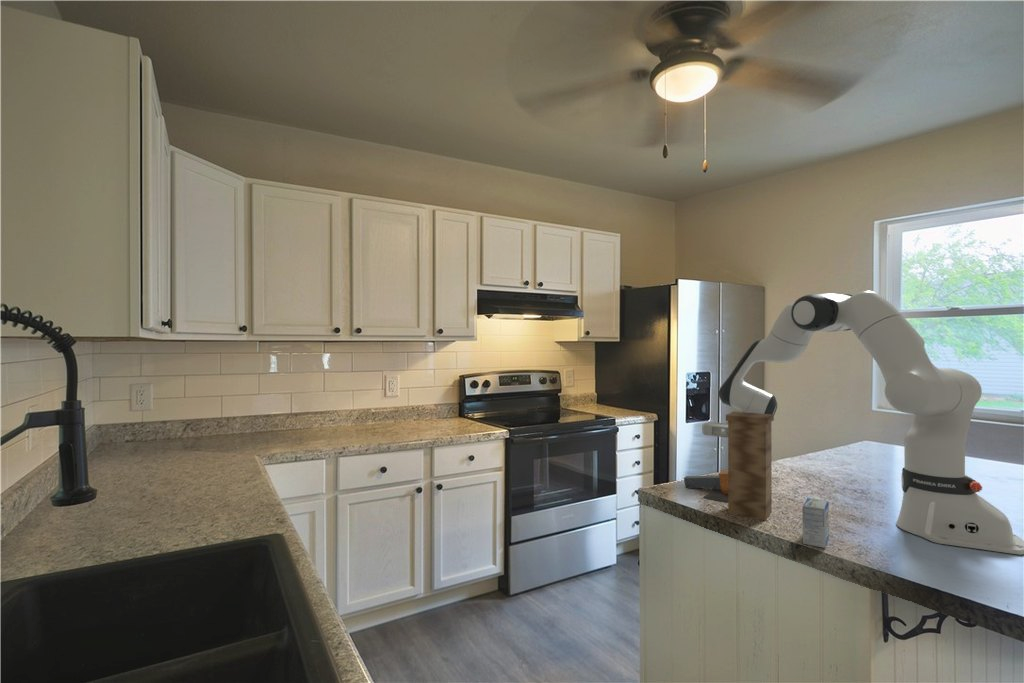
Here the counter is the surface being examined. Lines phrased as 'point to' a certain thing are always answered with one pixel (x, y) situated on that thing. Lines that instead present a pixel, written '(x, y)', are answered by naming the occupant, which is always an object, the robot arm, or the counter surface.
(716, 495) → the rubber mat
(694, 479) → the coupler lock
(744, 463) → the stand
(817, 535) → the medicine box
